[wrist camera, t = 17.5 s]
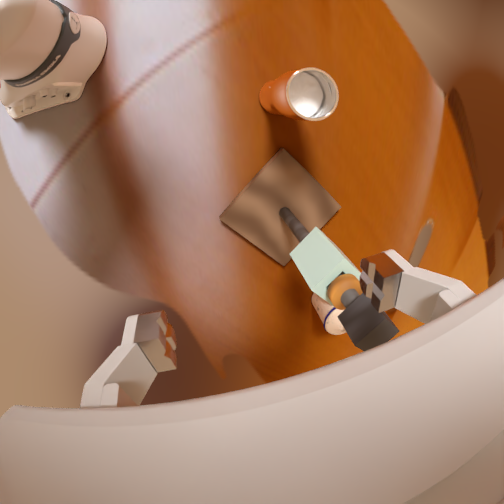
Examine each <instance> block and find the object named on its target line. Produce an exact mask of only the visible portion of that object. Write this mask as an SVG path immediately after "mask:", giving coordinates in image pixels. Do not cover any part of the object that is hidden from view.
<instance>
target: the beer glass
mask: <svg viewBox="0 0 504 504" xmlns="http://www.w3.org/2000/svg"><path fill="white" fill-rule="evenodd" d="M338 99H339V93H338V88H337V85H336V83H335V82H334V80H333V79H332V77H331V76H330V75H329V74H327V73H326V72H324V71H323V70H320V69H317V68H302V69H295V70H291V71H289V72H286V73H284V74H282V75H281V76H280V77H278V78H277V79H276V80H271V81H269V82H267V83H265V84H264V85H263V86H262V88H261V90H260V93H259V100H260V103H261V105H262V107H263V108H264V109H265V110H266V111H268V112H269V113H272V114H276V115H279V114H282V115H284V116H286V117H288V118H290V119H294V120H300V121H319V120H323V119H325V118H327V117H328V116H330V115H331V114H332V113H333V112H334V110H335V109H336V107H337V104H338Z"/></svg>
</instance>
